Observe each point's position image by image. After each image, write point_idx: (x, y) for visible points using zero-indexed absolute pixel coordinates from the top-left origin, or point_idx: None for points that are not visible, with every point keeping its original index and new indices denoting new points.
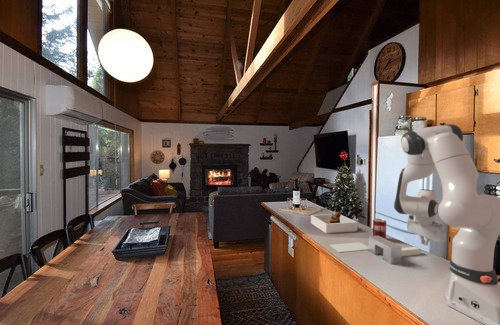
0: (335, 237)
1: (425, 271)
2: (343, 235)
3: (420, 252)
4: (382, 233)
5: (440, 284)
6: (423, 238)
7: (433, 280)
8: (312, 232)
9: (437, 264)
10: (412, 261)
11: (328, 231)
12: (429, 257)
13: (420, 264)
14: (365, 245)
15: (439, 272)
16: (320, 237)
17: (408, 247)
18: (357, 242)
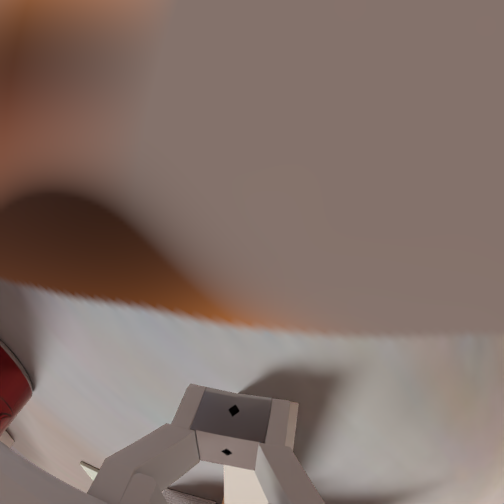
0: (44, 458)
1: (441, 496)
2: (13, 426)
3: (296, 420)
4: (3, 422)
5: (496, 494)
6: (164, 458)
7: (477, 499)
8: (22, 456)
9: (470, 429)
10: (352, 492)
11: (7, 440)
12: (385, 395)
13: (398, 486)
14: None
15: (489, 466)
16: (58, 477)
17: (227, 482)
18: (85, 470)
